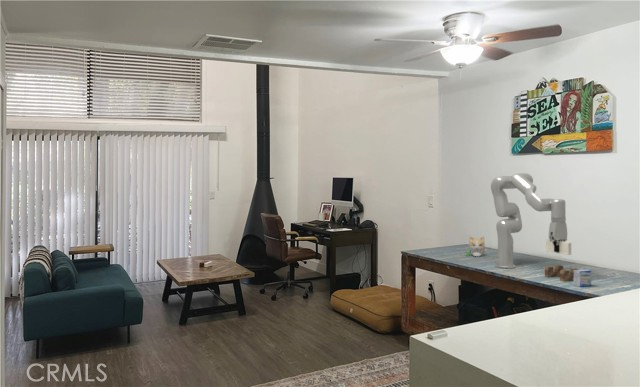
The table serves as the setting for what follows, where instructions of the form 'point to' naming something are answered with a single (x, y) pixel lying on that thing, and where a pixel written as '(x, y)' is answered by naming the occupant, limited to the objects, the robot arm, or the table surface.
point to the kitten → (476, 246)
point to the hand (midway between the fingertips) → (558, 251)
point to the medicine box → (582, 278)
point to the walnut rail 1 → (553, 271)
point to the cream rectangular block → (563, 247)
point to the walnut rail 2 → (567, 275)
